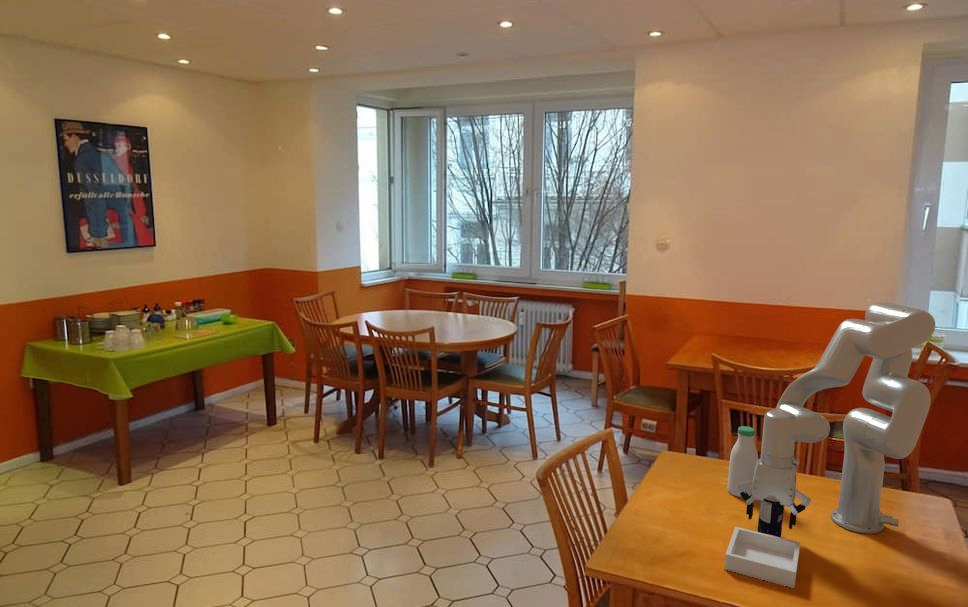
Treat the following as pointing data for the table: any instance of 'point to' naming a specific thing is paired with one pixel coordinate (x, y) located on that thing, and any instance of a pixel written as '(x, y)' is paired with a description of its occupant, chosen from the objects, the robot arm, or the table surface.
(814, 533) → the table surface
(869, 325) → the robot arm
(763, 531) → the beverage can
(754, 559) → the box
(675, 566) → the table surface
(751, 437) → the milk bottle
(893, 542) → the table surface
